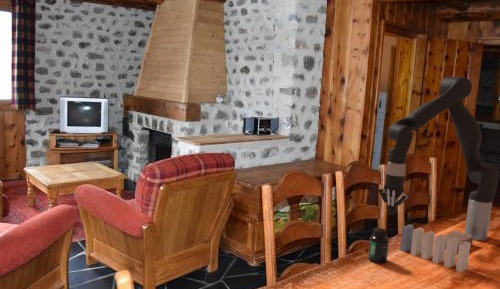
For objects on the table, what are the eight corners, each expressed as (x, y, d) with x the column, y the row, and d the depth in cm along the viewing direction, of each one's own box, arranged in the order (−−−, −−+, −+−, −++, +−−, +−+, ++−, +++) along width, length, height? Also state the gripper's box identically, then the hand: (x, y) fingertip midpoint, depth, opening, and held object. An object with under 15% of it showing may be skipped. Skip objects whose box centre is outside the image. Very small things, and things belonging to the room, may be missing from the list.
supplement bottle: (371, 263, 167) (374, 233, 165) (365, 256, 174) (368, 226, 172) (389, 264, 168) (392, 233, 166) (382, 256, 175) (385, 227, 173)
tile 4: (438, 258, 175) (441, 234, 174) (443, 260, 174) (446, 235, 172) (432, 261, 172) (435, 236, 170) (437, 263, 170) (440, 238, 169)
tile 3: (427, 254, 178) (430, 230, 177) (432, 256, 177) (435, 232, 175) (421, 257, 175) (424, 233, 174) (426, 259, 174) (428, 234, 172)
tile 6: (461, 266, 169) (465, 241, 167) (467, 268, 167) (470, 243, 166) (455, 270, 165) (459, 244, 164) (461, 272, 164) (464, 246, 162)
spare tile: (406, 247, 185) (409, 224, 183) (411, 249, 184) (413, 225, 182) (400, 250, 182) (402, 226, 180) (404, 252, 180) (407, 228, 179)
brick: (455, 254, 181) (456, 243, 181) (435, 247, 188) (436, 236, 187) (472, 245, 192) (474, 235, 192) (453, 239, 198) (454, 229, 198)
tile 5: (449, 262, 172) (453, 237, 170) (455, 264, 170) (458, 239, 169) (443, 266, 169) (447, 240, 167) (449, 267, 167) (452, 242, 166)
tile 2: (416, 251, 182) (419, 227, 180) (421, 252, 180) (424, 229, 179) (410, 254, 178) (413, 230, 177) (415, 255, 177) (417, 231, 175)
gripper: (376, 171, 186) (372, 211, 189) (405, 177, 176) (400, 220, 179) (386, 169, 191) (381, 208, 194) (415, 175, 181) (410, 216, 184)
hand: (390, 214), depth 186 cm, fingers closed
